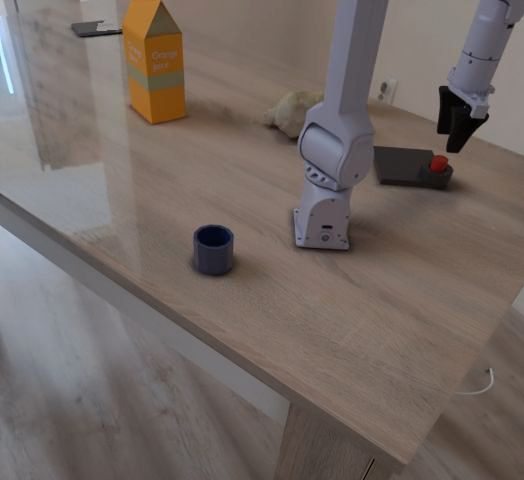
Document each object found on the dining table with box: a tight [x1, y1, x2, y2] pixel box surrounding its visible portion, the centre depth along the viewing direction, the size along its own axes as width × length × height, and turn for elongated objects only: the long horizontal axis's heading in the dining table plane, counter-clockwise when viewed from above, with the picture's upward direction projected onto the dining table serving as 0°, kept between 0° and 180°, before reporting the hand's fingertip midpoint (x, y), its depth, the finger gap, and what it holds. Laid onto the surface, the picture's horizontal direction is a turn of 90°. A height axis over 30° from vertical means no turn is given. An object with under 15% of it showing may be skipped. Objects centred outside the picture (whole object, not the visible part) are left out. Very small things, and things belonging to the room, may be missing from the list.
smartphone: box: [70, 19, 123, 37], centre depth 123 cm, size 8×1×15 cm
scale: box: [373, 145, 455, 190], centre depth 88 cm, size 13×13×3 cm
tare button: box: [430, 154, 450, 172], centre depth 84 cm, size 3×3×2 cm
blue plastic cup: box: [192, 223, 235, 276], centre depth 66 cm, size 5×5×4 cm
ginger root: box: [263, 90, 325, 139], centre depth 93 cm, size 15×7×15 cm
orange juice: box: [122, 0, 187, 125], centre depth 89 cm, size 8×9×20 cm
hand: (447, 142), depth 81 cm, fingers open, 6 cm apart
